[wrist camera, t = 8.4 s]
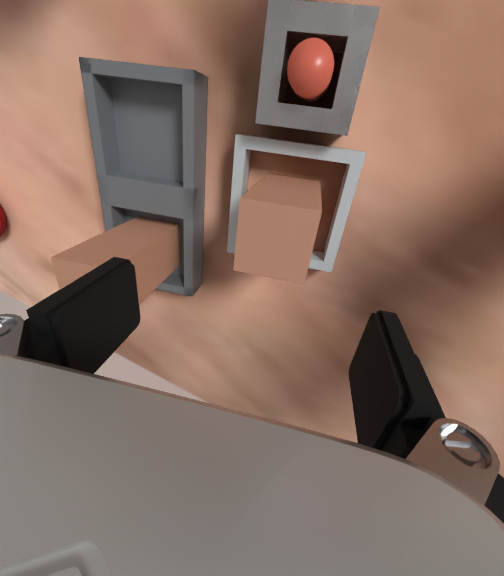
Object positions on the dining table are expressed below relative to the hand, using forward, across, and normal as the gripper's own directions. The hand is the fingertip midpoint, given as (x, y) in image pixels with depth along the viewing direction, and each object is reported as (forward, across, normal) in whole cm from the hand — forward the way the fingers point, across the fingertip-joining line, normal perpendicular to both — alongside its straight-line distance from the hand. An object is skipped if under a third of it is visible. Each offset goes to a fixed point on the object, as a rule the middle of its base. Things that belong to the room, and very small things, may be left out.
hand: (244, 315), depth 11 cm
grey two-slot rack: (+20, +14, +1) cm, 25 cm away
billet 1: (+19, +14, +6) cm, 25 cm away
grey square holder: (+20, 0, -10) cm, 23 cm away
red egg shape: (+19, 0, -10) cm, 21 cm away
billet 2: (+20, 0, 0) cm, 20 cm away
